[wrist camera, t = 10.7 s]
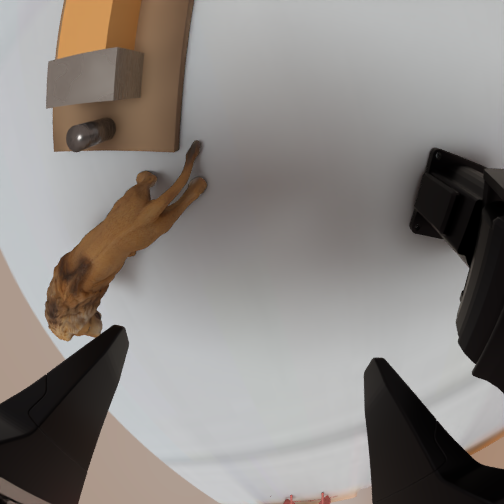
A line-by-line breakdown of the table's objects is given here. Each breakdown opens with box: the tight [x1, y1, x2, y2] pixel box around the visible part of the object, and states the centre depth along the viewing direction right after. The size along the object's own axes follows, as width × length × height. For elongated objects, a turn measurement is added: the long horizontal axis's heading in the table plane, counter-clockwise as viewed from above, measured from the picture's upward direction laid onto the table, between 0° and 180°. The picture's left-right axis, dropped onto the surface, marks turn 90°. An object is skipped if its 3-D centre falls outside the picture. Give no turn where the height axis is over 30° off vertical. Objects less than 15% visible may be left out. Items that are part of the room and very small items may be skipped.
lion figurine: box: [45, 140, 207, 341], centre depth 17 cm, size 15×5×9 cm, turn 138°
